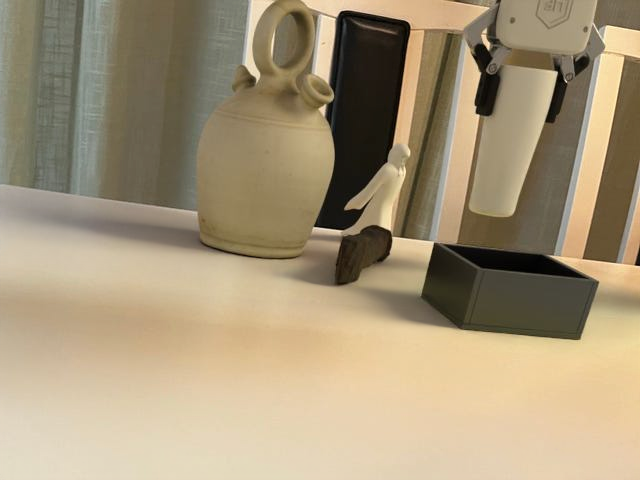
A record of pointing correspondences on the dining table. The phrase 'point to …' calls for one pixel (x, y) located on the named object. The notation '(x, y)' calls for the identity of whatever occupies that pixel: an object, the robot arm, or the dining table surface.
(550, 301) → the bin
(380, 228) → the rough brown chunk
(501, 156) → the drinking glass
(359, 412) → the dining table surface
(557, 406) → the dining table surface
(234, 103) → the jug
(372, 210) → the figurine
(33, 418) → the dining table surface
